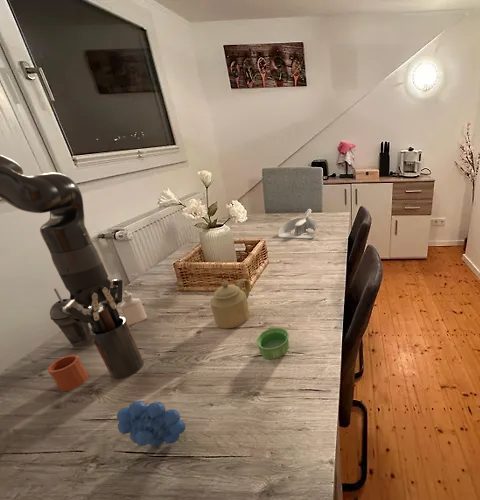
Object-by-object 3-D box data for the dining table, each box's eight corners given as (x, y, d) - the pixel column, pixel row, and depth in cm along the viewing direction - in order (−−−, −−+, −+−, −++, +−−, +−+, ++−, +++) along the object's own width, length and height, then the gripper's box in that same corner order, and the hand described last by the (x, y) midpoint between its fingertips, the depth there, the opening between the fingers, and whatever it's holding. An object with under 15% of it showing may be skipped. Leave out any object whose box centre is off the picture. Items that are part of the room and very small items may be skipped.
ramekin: (257, 344, 84) (254, 332, 82) (286, 335, 87) (285, 324, 85) (260, 365, 76) (258, 352, 75) (293, 354, 80) (291, 342, 78)
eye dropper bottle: (145, 322, 95) (133, 292, 90) (125, 327, 93) (112, 296, 88) (148, 315, 99) (137, 286, 94) (129, 319, 97) (116, 290, 92)
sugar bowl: (223, 304, 104) (214, 268, 98) (254, 301, 105) (247, 265, 99) (211, 330, 90) (200, 290, 84) (246, 326, 92) (238, 287, 86)
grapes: (116, 470, 53) (91, 428, 49) (137, 434, 60) (116, 395, 55) (180, 461, 55) (162, 420, 50) (194, 427, 61) (179, 388, 56)
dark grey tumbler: (116, 385, 72) (93, 339, 66) (108, 372, 76) (85, 327, 70) (148, 367, 77) (129, 323, 71) (139, 356, 81) (120, 313, 75)
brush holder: (62, 396, 69) (49, 375, 66) (58, 385, 72) (45, 364, 69) (91, 381, 73) (80, 361, 70) (86, 371, 76) (75, 351, 73)
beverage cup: (97, 332, 91) (71, 278, 83) (100, 342, 86) (72, 287, 78) (67, 343, 86) (36, 287, 78) (68, 355, 82) (35, 297, 74)
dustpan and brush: (276, 237, 167) (274, 222, 163) (295, 221, 196) (294, 207, 193) (313, 239, 163) (312, 223, 159) (327, 221, 193) (326, 208, 189)
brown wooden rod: (121, 375, 74) (93, 315, 66) (117, 368, 76) (89, 310, 68) (137, 366, 76) (112, 308, 68) (133, 360, 78) (107, 303, 71)
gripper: (95, 251, 70) (120, 308, 77) (29, 279, 58) (66, 344, 64) (121, 252, 69) (144, 310, 76) (60, 281, 56) (94, 347, 63)
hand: (108, 326), depth 70 cm, fingers open, 3 cm apart
